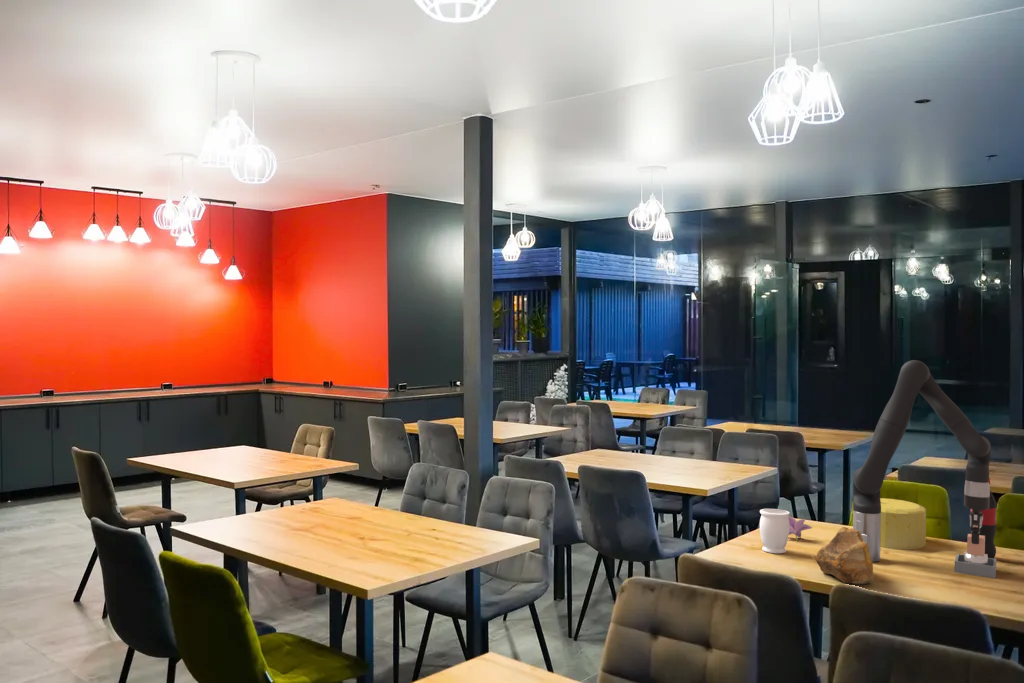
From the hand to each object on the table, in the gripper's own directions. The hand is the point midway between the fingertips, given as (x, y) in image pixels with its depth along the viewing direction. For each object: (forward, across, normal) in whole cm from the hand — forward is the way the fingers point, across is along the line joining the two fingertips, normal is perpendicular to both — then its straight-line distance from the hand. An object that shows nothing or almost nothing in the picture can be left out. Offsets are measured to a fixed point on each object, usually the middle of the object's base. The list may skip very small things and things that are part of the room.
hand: (975, 541), depth 274 cm
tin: (+10, 0, 0) cm, 10 cm away
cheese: (+12, +32, +31) cm, 46 cm away
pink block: (+4, 0, 0) cm, 4 cm away
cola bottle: (+11, +24, -2) cm, 27 cm away
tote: (+11, 0, 0) cm, 11 cm away
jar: (+12, -11, +65) cm, 67 cm away
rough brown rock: (+12, -31, +38) cm, 50 cm away
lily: (+12, +12, +63) cm, 65 cm away
